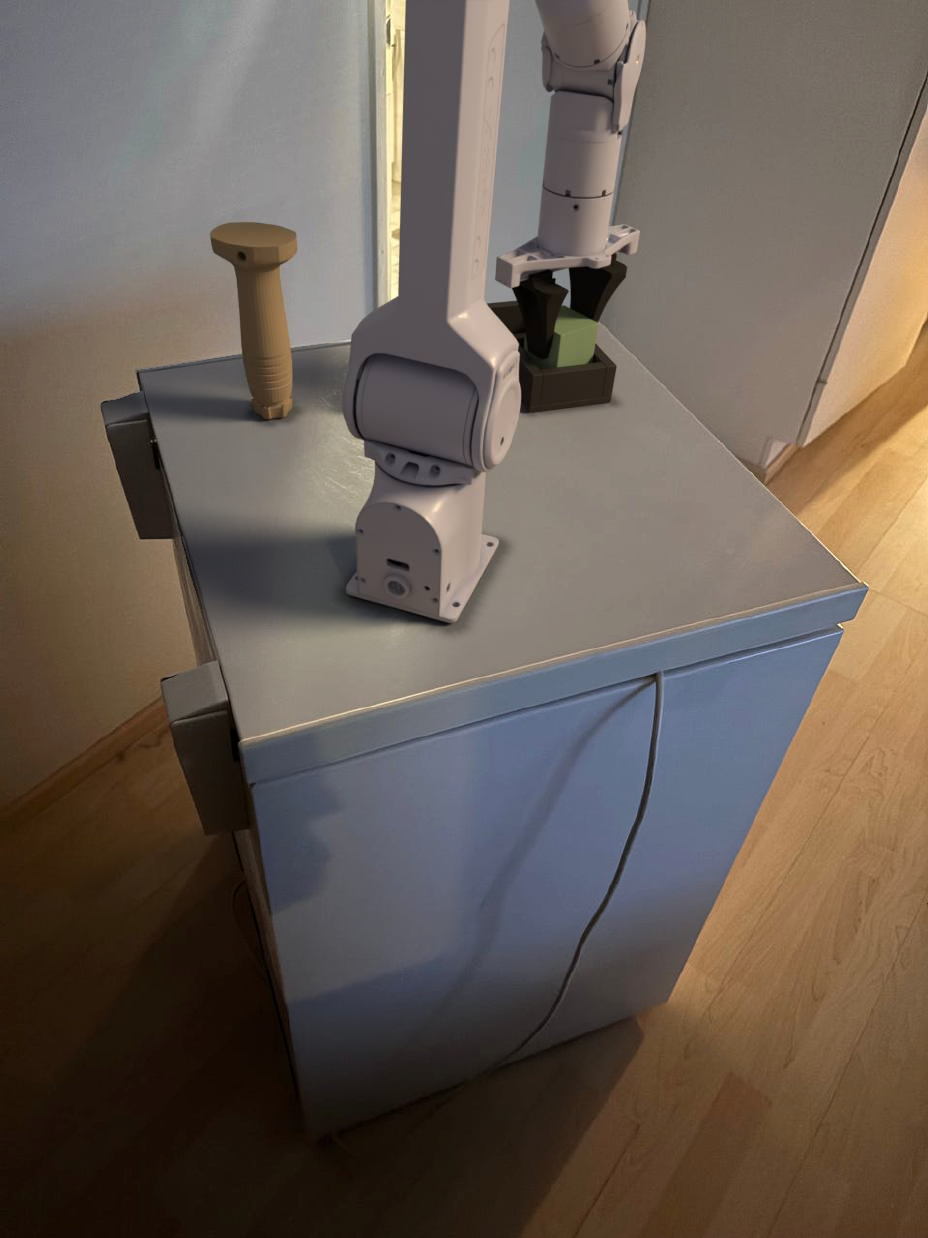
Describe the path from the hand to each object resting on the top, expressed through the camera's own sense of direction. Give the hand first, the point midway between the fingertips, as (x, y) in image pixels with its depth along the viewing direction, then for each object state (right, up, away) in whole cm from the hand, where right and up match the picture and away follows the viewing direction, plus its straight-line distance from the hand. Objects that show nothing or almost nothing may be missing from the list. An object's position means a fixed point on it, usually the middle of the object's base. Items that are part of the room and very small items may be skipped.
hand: (558, 347), depth 80 cm
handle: (-25, -7, -3) cm, 26 cm away
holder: (-1, -1, +5) cm, 5 cm away
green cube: (0, -1, +1) cm, 1 cm away
